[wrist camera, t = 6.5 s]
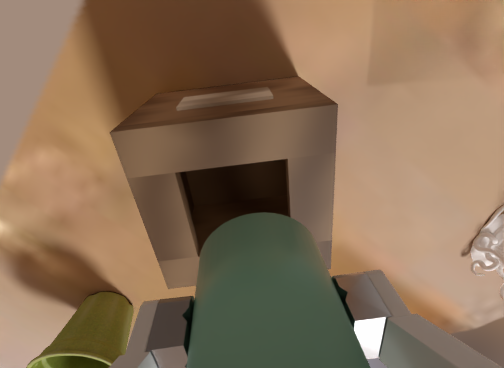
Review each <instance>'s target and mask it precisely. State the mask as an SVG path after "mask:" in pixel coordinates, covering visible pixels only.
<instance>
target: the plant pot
mask: <svg viewBox="0 0 504 368" xmlns="http://www.w3.org/2000/svg"><path fill="white" fill-rule="evenodd" d="M132 316H133V306H132V305H130V304H129V302H128V301H127V299H126V298H125V297H123V296H122V295H119V294H117V293H112V292H99V293H97V294H95V295H92V296H88V297H87V298H86V299H85V300H84V302H83V303H82V304H81V305H80V307H79V308H78V309H77V311H76V312H75V314H74V315H73V316H72V318H71V319H70V320H69V322H68V323H67V324H66V325H65V327H64V328H63V329H62V331H61V332H60V333H59V335H58V336H57V337H56V338H55V340H54V341H53V342H52V344H51V345H50V346H48V347H47V348H46V349H45V350H44V351H43V352H42V353H41V354H40V356H38V357H36V358H34V359H33V360H32V361H31V362H30V363H29V364H28V365H27V367H26V368H109V367H110V366H111V365H112V363H113V362H114V361H115V360H116V359H117V358H118V357H119V356H121V355H125V353H126V348H127V342H128V337H129V332H130V327H131V322H132Z"/></svg>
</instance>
